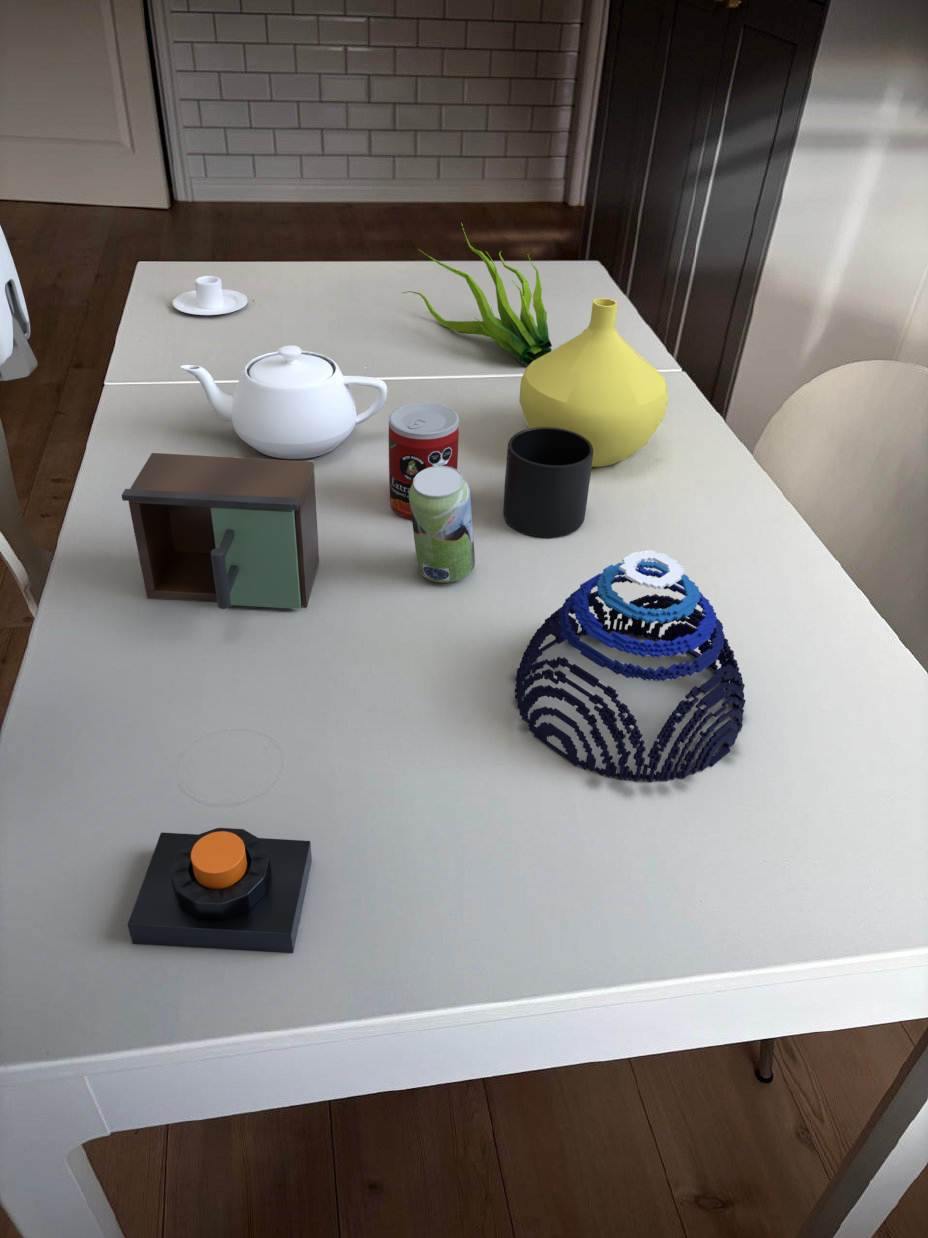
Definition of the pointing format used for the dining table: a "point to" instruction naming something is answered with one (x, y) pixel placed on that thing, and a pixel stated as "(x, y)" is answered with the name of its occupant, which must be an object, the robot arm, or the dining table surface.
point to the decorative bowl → (637, 669)
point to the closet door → (255, 557)
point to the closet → (182, 523)
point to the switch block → (223, 897)
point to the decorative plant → (505, 315)
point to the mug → (547, 481)
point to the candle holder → (209, 298)
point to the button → (219, 860)
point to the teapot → (291, 403)
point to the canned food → (419, 447)
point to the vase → (596, 390)
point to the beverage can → (442, 524)
